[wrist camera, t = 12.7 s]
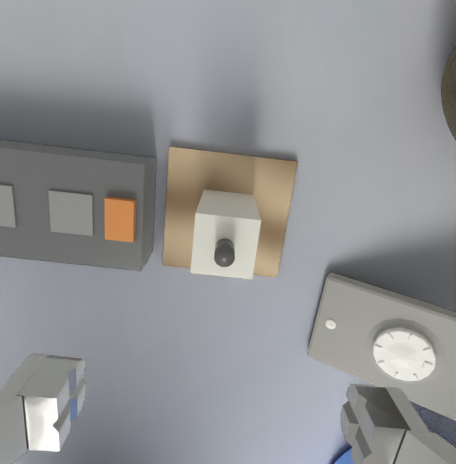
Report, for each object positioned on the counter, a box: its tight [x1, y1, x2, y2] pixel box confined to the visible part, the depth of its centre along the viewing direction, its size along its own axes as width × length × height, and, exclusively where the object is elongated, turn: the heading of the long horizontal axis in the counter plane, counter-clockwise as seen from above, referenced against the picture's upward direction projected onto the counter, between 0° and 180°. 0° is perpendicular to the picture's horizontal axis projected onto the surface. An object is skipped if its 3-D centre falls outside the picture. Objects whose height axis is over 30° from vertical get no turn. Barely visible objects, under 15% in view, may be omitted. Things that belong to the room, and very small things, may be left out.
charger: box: [190, 189, 261, 279], centre depth 23 cm, size 4×4×9 cm
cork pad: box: [163, 146, 298, 277], centre depth 28 cm, size 10×10×1 cm
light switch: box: [307, 273, 456, 421], centre depth 29 cm, size 8×6×14 cm
